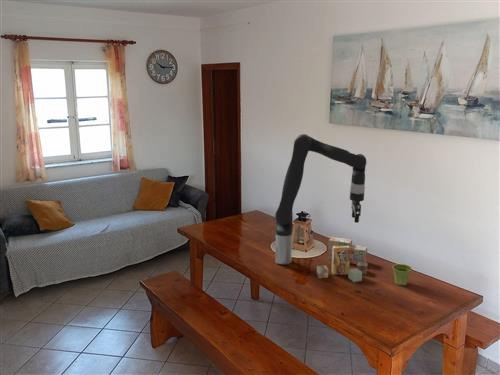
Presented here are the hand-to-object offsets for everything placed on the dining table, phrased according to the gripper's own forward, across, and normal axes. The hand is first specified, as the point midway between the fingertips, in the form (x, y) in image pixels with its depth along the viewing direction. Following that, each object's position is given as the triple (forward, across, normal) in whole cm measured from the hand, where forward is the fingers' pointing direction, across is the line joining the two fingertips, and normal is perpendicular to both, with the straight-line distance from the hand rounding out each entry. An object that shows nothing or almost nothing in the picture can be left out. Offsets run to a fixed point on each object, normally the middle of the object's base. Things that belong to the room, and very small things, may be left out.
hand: (355, 219), depth 244 cm
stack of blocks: (+28, -9, -1) cm, 30 cm away
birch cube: (+28, +13, -18) cm, 36 cm away
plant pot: (+28, +20, +22) cm, 40 cm away
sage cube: (+28, +16, -1) cm, 32 cm away
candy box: (+28, +9, -8) cm, 31 cm away
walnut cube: (+28, +7, +4) cm, 29 cm away
